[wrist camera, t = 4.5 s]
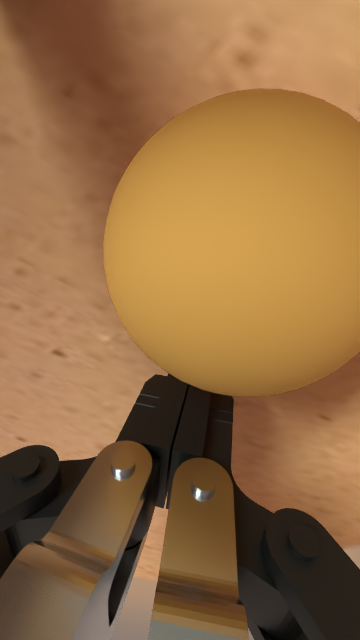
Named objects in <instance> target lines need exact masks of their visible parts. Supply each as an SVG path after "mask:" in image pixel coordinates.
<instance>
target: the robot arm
mask: <svg viewBox="0 0 360 640" xmlns="http://www.w3.org/2000/svg"><path fill="white" fill-rule="evenodd" d="M233 402H234V400H233V398H232V396H229V395H222V394H217V393H213V392H209V391H206V390H202V389H200V388H197V387H195V386H192V385H190V384H187V383H185V382H183V381H181V380H179V379H178V378H176V377H174V376H173V375H171V374H168V376H162V375H157V374H155V375H154V376H153V377H152V378H150V379H149V380H148V381H146V382H145V384H144V386H143V388H142V390H141V392H140V395H139V396H138V398H137V400H136V403H135V404H134V406H133V408H132V410H131V412H130V414H129V416H128V418H127V420H126V422H125V424H124V426H123V428H122V430H121V432H120V434H119V436H118V438H117V440H116V442H115V443H112V444H110V445H108V446H107V447H105V448H104V449H103V450H102V451H101V452H100V453H99V454H98V455H97V456H96V457H93V458H89V459H83V460H68V461H59V458H58V455H57V454H56V452H55V451H54V450H53V449H51V448H49V447H47V446H42V445H33V446H27V447H24V448H21V449H19V450H16V451H14V452H12V453H10V454H7V455H5V456H3V457H1V458H0V640H112V637H113V634H114V630H115V627H116V624H117V621H118V618H119V615H120V612H121V610H122V607H123V603H124V601H125V598H126V595H127V592H128V589H129V586H130V583H131V581H132V578H133V575H134V572H135V569H136V566H137V563H138V561H139V558H140V555H141V552H142V549H143V546H144V543H145V540H146V537H147V532H148V529H149V527H150V523H151V520H152V516H153V512H154V509H155V506H157V507H161V508H164V504H165V500H166V496H167V504H166V509H169V512H168V518H167V525H166V531H165V538H164V544H163V551H162V557H161V564H160V570H159V576H158V582H157V587H156V592H155V598H154V604H153V610H152V617H151V623H150V629H149V637H148V640H249V636H248V628H249V630H250V632H251V634H252V636H253V638H254V640H360V569H359V568H358V567H357V566H356V564H355V563H354V562H353V561H352V560H351V559H350V557H349V556H348V555H347V554H346V553H345V552H344V550H343V549H342V548H341V547H340V546H339V544H338V543H337V542H336V541H335V540H334V539H333V537H332V536H331V535H330V534H329V533H328V531H327V530H326V529H325V528H324V527H323V526H322V525H321V524H320V523H319V522H318V521H317V520H316V519H314V518H313V517H311V516H310V515H308V514H306V513H305V512H302V511H300V510H297V509H292V508H285V509H281V510H278V511H276V512H275V513H272V512H270V511H269V510H267V509H265V508H264V507H262V506H260V505H259V504H257V503H255V502H254V501H252V500H251V499H249V498H248V497H247V496H246V495H245V494H244V493H243V492H242V491H241V490H240V489H239V487H238V486H237V485H236V483H235V481H234V479H233V476H232V472H231V449H232V426H233V425H232V423H233ZM167 492H168V495H167Z"/></svg>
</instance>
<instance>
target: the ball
mask: <svg viewBox="0 0 360 640" xmlns="http://www.w3.org/2000/svg"><path fill="white" fill-rule="evenodd" d="M103 254H104V270H105V275H106V281H107V286H108V290H109V294H110V297H111V300H112V303H113V306H114V308H115V310H116V312H117V314H118V316H119V318H120V320H121V322H122V324H123V326H124V328H125V329H126V331H127V332H128V334H129V335H130V337H131V338H132V339H133V341H134V342H135V344H136V345H137V346H138V347H139V348H140V349H141V350H142V351H143V352H144V353H145V354H146V355H147V356H148V358H149V359H151V360H152V361H153V362H154V363H156V364H157V365H158V366H159V367H161V368H162V369H163V370H164V371H166V372H167V373H169V374H171V375H173V376H174V377H176V378H178V379H179V380H181V381H183V382H185V383H187V384H190V385H192V386H195V387H197V388H200V389H202V390H206V391H209V392H213V393H217V394H222V395H229V396H246V397H257V396H266V395H276V394H280V393H284V392H288V391H292V390H296V389H299V388H302V387H304V386H306V385H309V384H311V383H314V382H316V381H318V380H321V379H322V378H324V377H326V376H328V375H329V374H331V373H333V372H334V371H336V370H338V369H339V368H341V367H342V366H343V365H344V364H346V363H347V362H348V361H349V360H351V359H352V358H353V357H354V356H355V355H357V354H358V353H359V352H360V122H358V121H357V120H356V119H355V118H353V117H352V116H351V115H349V114H348V113H346V112H344V111H343V110H341V109H339V108H338V107H336V106H334V105H332V104H330V103H328V102H326V101H324V100H322V99H319V98H316V97H313V96H310V95H307V94H304V93H300V92H294V91H289V90H283V89H251V90H242V91H236V92H232V93H228V94H224V95H220V96H217V97H214V98H212V99H209V100H207V101H204V102H202V103H200V104H198V105H195V106H193V107H191V108H189V109H188V110H186V111H184V112H183V113H181V114H179V115H178V116H176V117H174V118H173V119H172V120H170V121H169V122H168V123H167V124H166V125H164V126H163V127H162V128H161V129H160V130H159V131H157V132H156V133H155V134H154V135H153V136H152V137H151V138H150V139H149V140H148V141H147V142H146V143H145V144H144V146H143V147H142V148H141V149H140V150H139V151H138V153H137V154H136V156H135V157H134V158H133V160H132V161H131V162H130V164H129V165H128V167H127V169H126V171H125V172H124V174H123V176H122V178H121V180H120V182H119V184H118V186H117V188H116V190H115V193H114V196H113V199H112V202H111V205H110V209H109V213H108V216H107V220H106V226H105V234H104V246H103Z"/></svg>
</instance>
